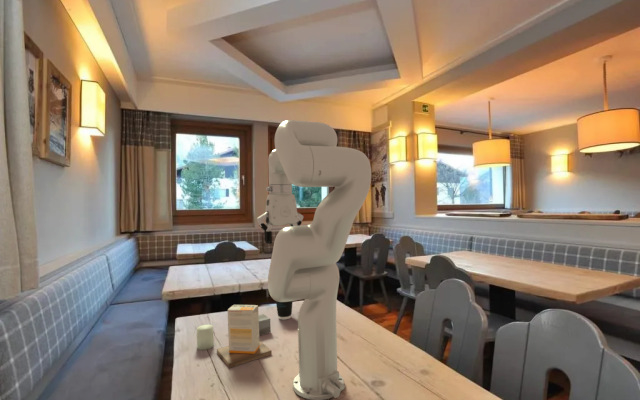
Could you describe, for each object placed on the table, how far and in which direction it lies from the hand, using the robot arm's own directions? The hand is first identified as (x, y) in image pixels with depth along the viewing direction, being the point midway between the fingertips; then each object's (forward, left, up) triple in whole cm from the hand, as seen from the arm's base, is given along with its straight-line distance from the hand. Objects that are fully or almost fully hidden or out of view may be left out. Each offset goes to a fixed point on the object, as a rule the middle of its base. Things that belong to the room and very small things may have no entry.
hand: (281, 241), depth 108 cm
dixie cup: (+18, -10, -32) cm, 38 cm away
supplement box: (-2, +15, -31) cm, 35 cm away
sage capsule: (+11, +23, -32) cm, 41 cm away
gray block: (+11, +4, -32) cm, 34 cm away
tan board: (-2, +15, -32) cm, 35 cm away
